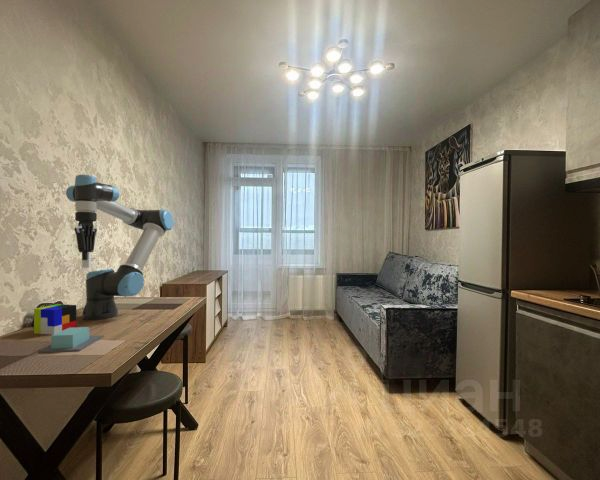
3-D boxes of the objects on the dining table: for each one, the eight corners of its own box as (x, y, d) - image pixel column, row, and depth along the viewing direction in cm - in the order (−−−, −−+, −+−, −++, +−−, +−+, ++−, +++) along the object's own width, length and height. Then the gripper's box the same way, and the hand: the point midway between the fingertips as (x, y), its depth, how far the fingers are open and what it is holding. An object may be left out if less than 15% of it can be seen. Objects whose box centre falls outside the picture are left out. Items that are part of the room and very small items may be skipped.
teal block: (69, 327, 119) (51, 335, 109) (89, 327, 119) (72, 334, 110) (69, 339, 119) (51, 348, 109) (89, 339, 119) (72, 348, 110)
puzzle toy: (54, 334, 127) (54, 310, 127) (34, 333, 129) (34, 309, 129) (76, 328, 137) (76, 305, 137) (57, 326, 139) (57, 304, 139)
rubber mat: (67, 338, 123) (67, 336, 123) (103, 336, 124) (103, 335, 124) (38, 352, 107) (38, 350, 107) (79, 351, 108) (79, 349, 108)
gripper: (85, 213, 141) (85, 266, 141) (67, 210, 128) (67, 269, 128) (103, 213, 141) (103, 266, 142) (87, 210, 129) (87, 268, 129)
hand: (86, 267), depth 135 cm, fingers closed
